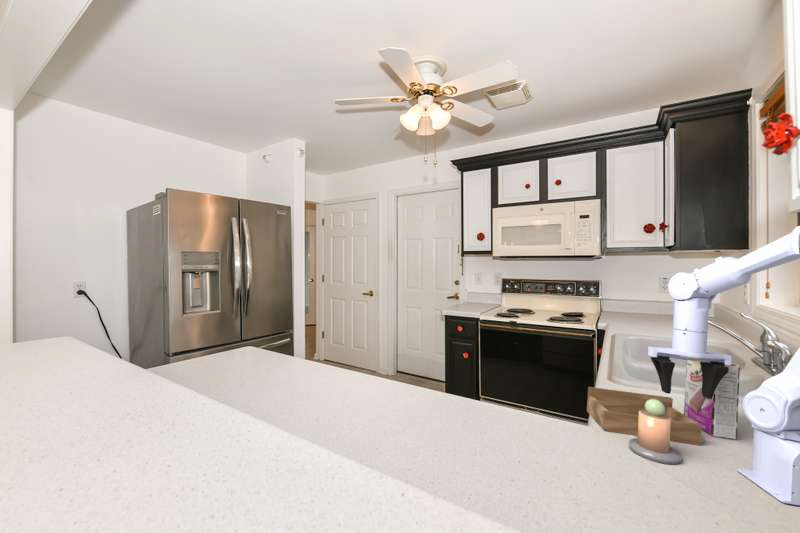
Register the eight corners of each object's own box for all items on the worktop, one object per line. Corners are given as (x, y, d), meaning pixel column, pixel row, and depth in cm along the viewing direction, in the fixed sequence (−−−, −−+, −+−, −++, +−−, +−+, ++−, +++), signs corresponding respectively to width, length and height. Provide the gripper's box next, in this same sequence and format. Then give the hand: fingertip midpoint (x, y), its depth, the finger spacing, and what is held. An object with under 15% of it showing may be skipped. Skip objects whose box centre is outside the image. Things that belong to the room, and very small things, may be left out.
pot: (674, 455, 64) (676, 405, 65) (642, 449, 66) (645, 401, 66) (662, 443, 69) (664, 397, 70) (633, 438, 71) (635, 393, 71)
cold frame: (700, 445, 72) (702, 416, 73) (604, 430, 76) (605, 402, 76) (669, 422, 84) (670, 397, 84) (586, 411, 88) (588, 386, 88)
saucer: (691, 468, 62) (691, 462, 62) (640, 459, 64) (640, 454, 64) (666, 447, 70) (667, 442, 70) (622, 440, 72) (622, 435, 72)
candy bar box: (681, 417, 88) (685, 351, 89) (704, 421, 87) (708, 354, 88) (711, 437, 77) (715, 361, 78) (738, 441, 76) (742, 364, 77)
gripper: (716, 331, 78) (713, 393, 77) (642, 324, 81) (639, 384, 80) (740, 336, 71) (736, 404, 70) (658, 328, 74) (654, 394, 73)
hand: (686, 394), depth 75 cm, fingers open, 7 cm apart
